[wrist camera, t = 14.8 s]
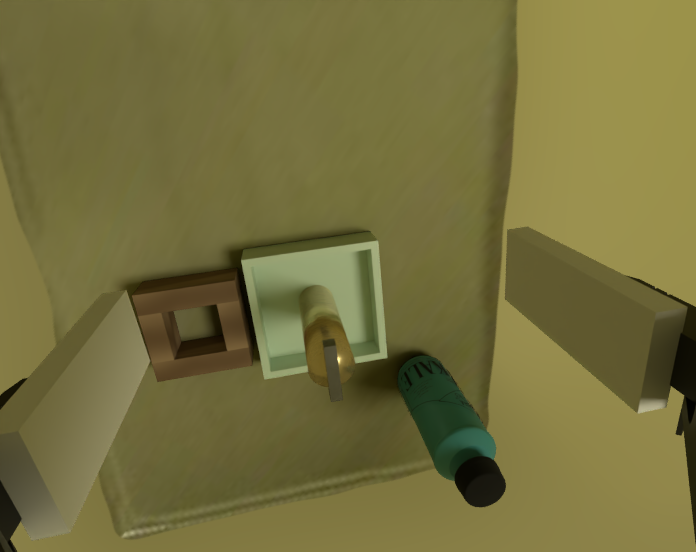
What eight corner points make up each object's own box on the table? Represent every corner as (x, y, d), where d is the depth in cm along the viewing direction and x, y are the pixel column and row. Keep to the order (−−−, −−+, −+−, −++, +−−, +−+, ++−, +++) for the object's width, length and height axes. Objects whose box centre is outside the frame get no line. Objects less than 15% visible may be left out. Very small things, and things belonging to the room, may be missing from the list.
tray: (243, 249, 48) (241, 260, 44) (370, 231, 49) (378, 240, 45) (265, 360, 52) (264, 379, 49) (379, 341, 54) (387, 357, 50)
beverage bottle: (423, 398, 58) (494, 530, 40) (381, 380, 56) (436, 510, 38) (450, 358, 57) (537, 476, 38) (408, 339, 55) (479, 453, 36)
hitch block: (142, 281, 47) (131, 295, 43) (237, 267, 48) (234, 280, 44) (165, 362, 50) (157, 381, 47) (253, 347, 52) (252, 365, 48)
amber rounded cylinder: (295, 282, 49) (304, 350, 35) (331, 277, 49) (354, 342, 35) (301, 324, 51) (313, 405, 36) (336, 319, 51) (360, 396, 37)
